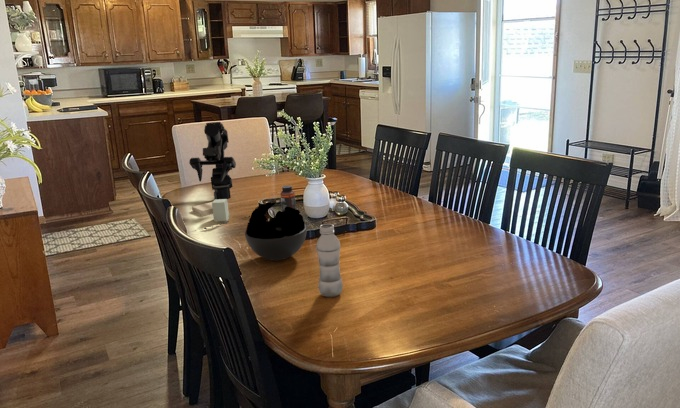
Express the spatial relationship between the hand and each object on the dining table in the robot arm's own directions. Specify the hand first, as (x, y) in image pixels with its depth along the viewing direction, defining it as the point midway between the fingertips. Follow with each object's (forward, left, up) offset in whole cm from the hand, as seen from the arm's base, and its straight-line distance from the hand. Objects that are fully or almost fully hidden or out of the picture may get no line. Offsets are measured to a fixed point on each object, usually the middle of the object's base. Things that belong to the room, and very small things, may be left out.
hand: (210, 180), depth 240 cm
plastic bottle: (+15, +101, -14) cm, 104 cm away
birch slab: (+2, -2, -13) cm, 13 cm away
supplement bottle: (-22, +24, -14) cm, 36 cm away
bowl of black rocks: (+10, +66, -14) cm, 69 cm away
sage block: (+4, +14, -14) cm, 21 cm away
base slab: (+2, -2, -15) cm, 15 cm away
